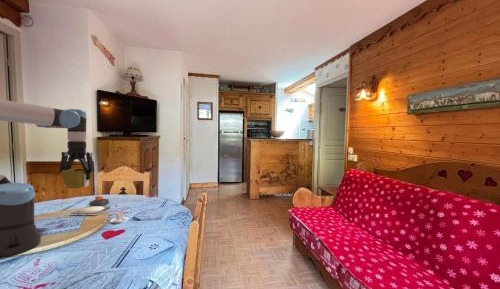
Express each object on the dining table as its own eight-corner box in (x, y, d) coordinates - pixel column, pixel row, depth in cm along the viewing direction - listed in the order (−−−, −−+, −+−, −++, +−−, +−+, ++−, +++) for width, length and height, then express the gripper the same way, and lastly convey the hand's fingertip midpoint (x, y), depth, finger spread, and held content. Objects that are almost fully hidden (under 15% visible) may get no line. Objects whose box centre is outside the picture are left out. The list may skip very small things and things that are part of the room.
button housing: (101, 207, 137) (101, 202, 137) (89, 206, 137) (89, 201, 136) (108, 203, 144) (108, 198, 144) (97, 203, 144) (97, 198, 143)
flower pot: (78, 189, 112) (79, 171, 111) (61, 189, 112) (61, 170, 111) (91, 186, 120) (91, 168, 120) (75, 185, 120) (75, 168, 120)
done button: (100, 202, 138) (100, 197, 138) (93, 202, 138) (93, 197, 138) (104, 200, 142) (104, 195, 142) (98, 200, 142) (98, 195, 142)
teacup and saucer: (119, 225, 111) (119, 216, 111) (105, 223, 113) (105, 215, 113) (132, 218, 120) (132, 211, 120) (118, 217, 121) (118, 209, 121)
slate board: (95, 215, 122) (95, 213, 122) (70, 215, 122) (70, 213, 122) (110, 208, 135) (110, 206, 135) (87, 207, 135) (87, 205, 135)
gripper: (103, 141, 119) (103, 184, 120) (61, 140, 119) (61, 184, 120) (93, 141, 112) (93, 188, 112) (49, 140, 111) (49, 187, 112)
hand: (77, 186), depth 116 cm, fingers closed on flower pot, 8 cm apart
